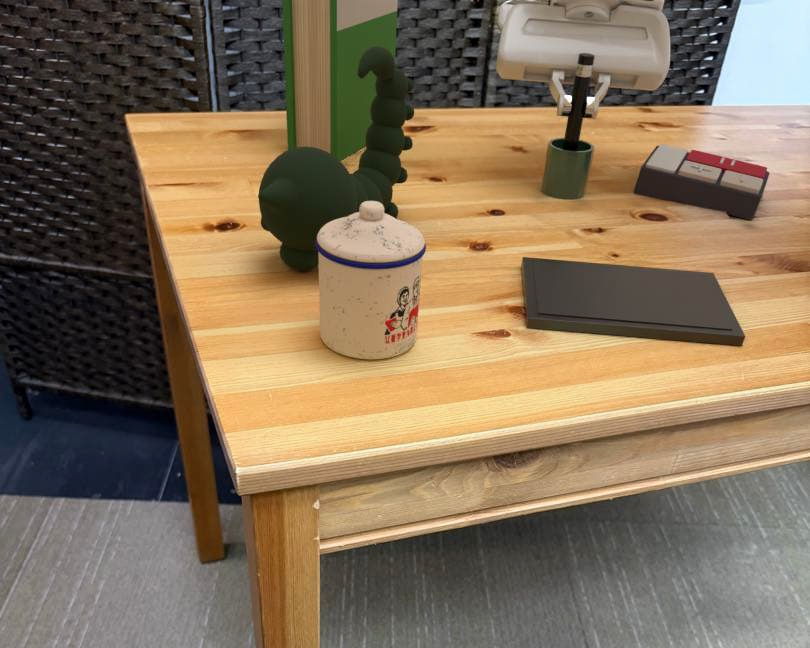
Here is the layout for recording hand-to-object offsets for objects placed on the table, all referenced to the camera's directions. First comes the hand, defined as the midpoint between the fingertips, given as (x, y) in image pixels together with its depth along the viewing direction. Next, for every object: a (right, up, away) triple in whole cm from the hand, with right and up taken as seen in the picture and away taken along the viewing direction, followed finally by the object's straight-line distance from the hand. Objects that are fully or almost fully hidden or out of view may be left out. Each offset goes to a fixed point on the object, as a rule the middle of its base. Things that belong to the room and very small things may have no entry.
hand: (577, 114), depth 96 cm
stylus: (0, -6, +7) cm, 9 cm away
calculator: (+18, -6, +10) cm, 21 cm away
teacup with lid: (-23, -32, -23) cm, 45 cm away
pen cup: (-1, -7, +7) cm, 10 cm away
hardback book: (-29, +6, +19) cm, 35 cm away
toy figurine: (-28, -19, -9) cm, 35 cm away
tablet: (+1, -27, -16) cm, 31 cm away
